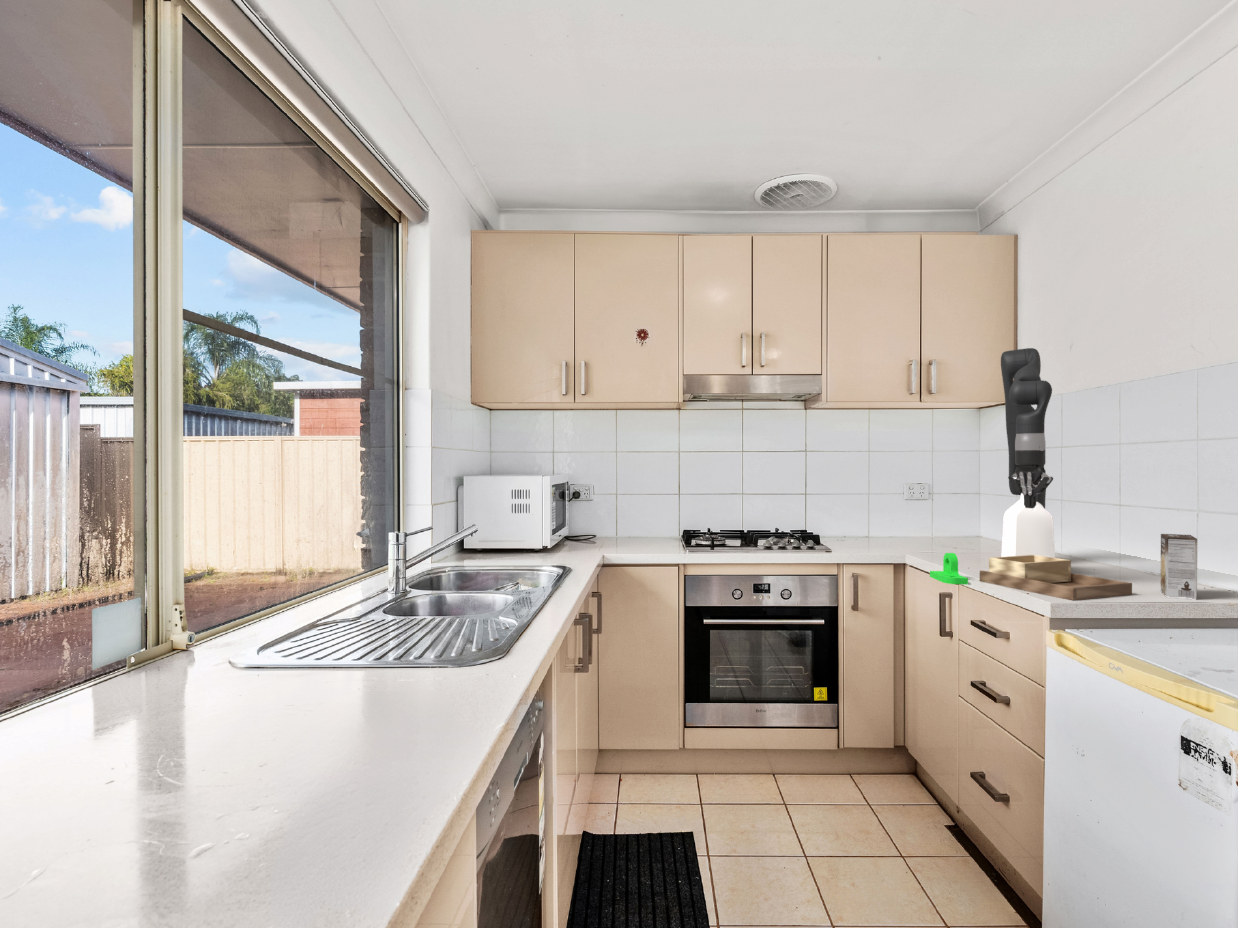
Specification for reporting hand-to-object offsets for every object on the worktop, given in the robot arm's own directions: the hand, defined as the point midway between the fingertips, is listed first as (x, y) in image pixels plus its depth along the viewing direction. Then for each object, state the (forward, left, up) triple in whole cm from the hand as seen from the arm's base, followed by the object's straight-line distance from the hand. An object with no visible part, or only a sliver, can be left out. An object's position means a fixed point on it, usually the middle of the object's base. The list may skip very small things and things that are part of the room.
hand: (1030, 507), depth 188 cm
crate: (-6, -1, -21) cm, 22 cm away
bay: (+7, -1, -22) cm, 23 cm away
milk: (-14, +16, -22) cm, 31 cm away
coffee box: (+26, +20, -22) cm, 40 cm away
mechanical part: (-11, -20, -22) cm, 32 cm away
